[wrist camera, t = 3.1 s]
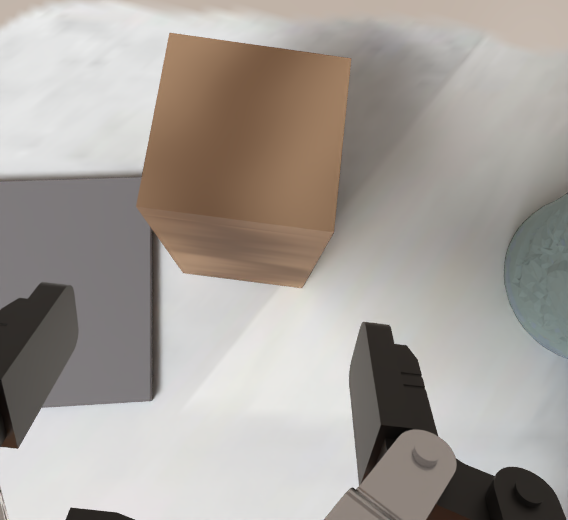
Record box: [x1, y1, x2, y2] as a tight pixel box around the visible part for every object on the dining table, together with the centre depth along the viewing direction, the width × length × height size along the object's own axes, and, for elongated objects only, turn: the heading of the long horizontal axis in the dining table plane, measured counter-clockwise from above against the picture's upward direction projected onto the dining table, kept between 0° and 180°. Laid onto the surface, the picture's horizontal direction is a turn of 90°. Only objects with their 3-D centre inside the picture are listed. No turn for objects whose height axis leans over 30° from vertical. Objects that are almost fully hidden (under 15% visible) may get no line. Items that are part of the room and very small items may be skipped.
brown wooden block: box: [136, 33, 351, 288], centre depth 21 cm, size 6×6×10 cm
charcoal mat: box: [0, 177, 152, 408], centre depth 24 cm, size 12×11×1 cm
